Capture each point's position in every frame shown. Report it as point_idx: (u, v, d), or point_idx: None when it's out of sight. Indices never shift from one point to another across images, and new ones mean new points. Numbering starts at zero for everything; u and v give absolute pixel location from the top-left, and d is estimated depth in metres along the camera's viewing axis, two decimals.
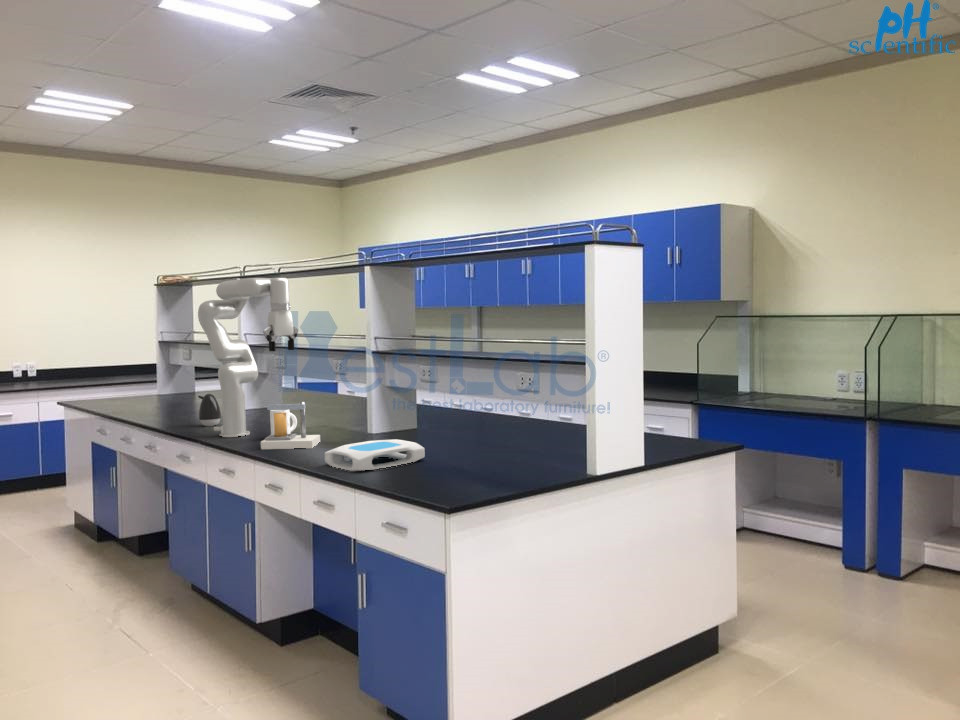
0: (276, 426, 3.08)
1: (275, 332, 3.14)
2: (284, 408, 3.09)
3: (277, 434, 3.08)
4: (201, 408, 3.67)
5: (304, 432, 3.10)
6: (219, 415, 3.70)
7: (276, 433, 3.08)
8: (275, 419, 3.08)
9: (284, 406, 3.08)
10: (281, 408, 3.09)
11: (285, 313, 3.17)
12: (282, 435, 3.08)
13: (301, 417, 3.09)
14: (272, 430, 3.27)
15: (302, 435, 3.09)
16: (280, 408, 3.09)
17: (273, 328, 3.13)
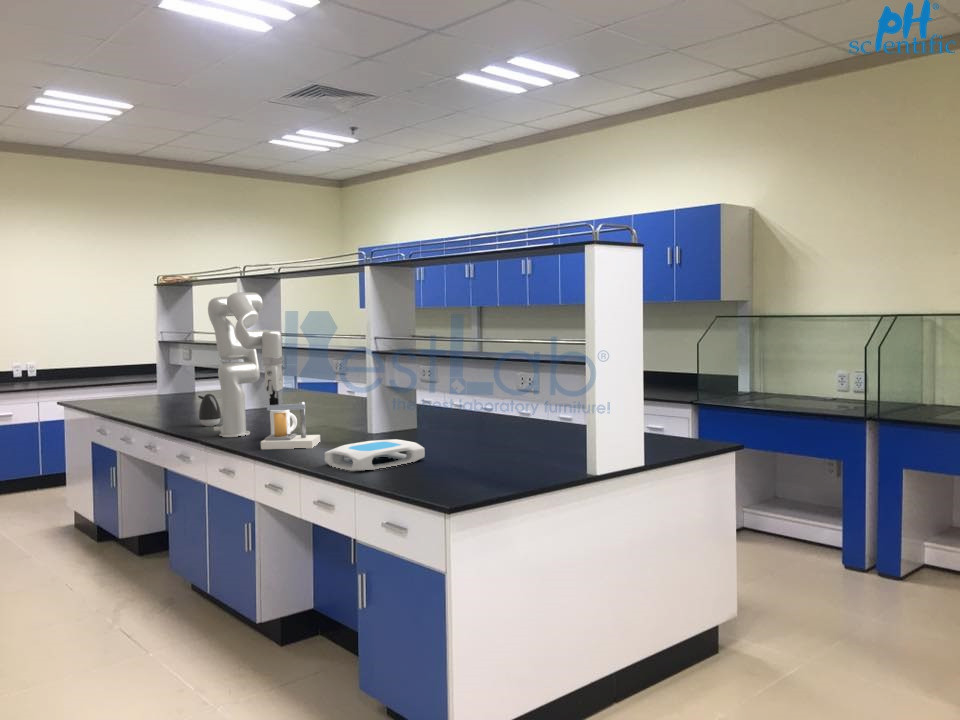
0: (276, 426, 3.08)
1: None
2: (284, 408, 3.08)
3: (277, 434, 3.08)
4: (201, 408, 3.67)
5: (304, 432, 3.10)
6: (219, 415, 3.70)
7: (276, 433, 3.08)
8: (275, 419, 3.08)
9: (284, 406, 3.08)
10: (281, 408, 3.08)
11: None
12: (282, 435, 3.08)
13: (301, 417, 3.09)
14: (272, 430, 3.27)
15: (302, 435, 3.09)
16: (280, 408, 3.08)
17: None
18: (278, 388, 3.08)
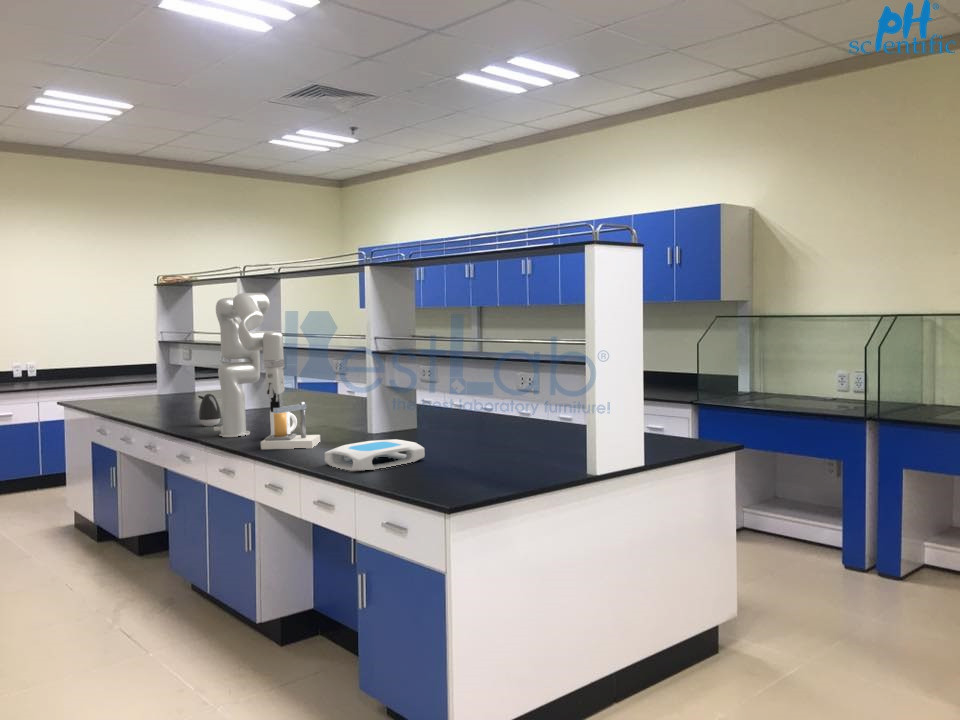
0: (276, 426, 3.08)
1: None
2: (291, 409, 3.03)
3: (277, 434, 3.08)
4: (201, 408, 3.67)
5: (305, 432, 3.10)
6: (219, 415, 3.70)
7: (276, 433, 3.08)
8: (275, 419, 3.08)
9: (291, 407, 3.03)
10: (288, 410, 3.02)
11: None
12: (282, 435, 3.08)
13: (303, 417, 3.09)
14: (272, 430, 3.27)
15: (304, 435, 3.10)
16: (288, 410, 3.02)
17: None
18: (279, 391, 2.99)
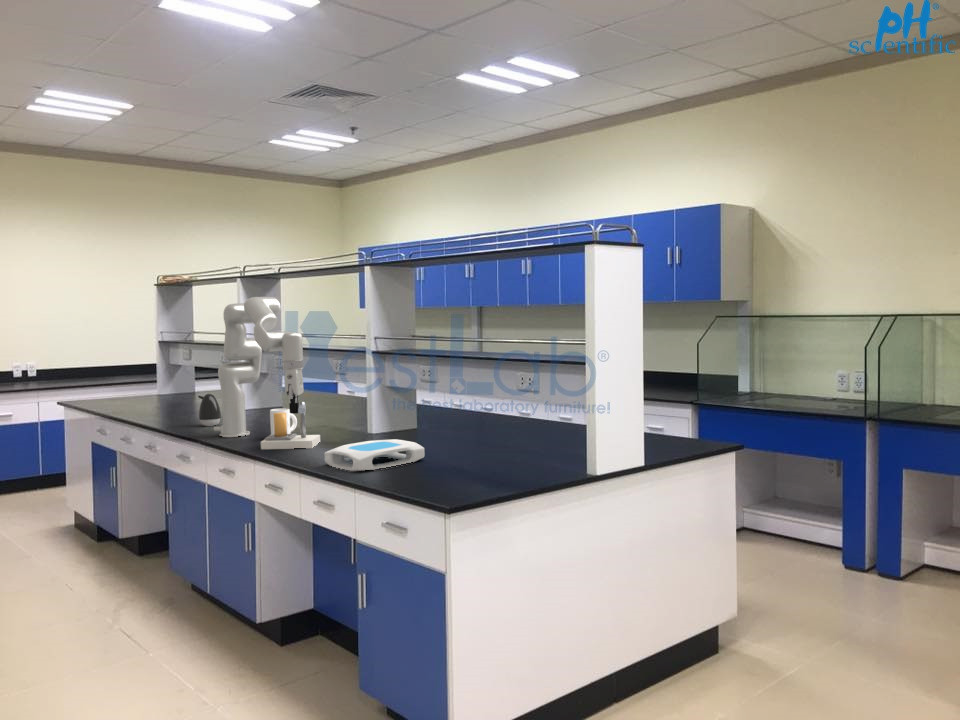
0: (276, 426, 3.08)
1: None
2: None
3: (277, 434, 3.08)
4: (201, 408, 3.67)
5: None
6: (219, 415, 3.70)
7: (276, 433, 3.08)
8: (275, 419, 3.08)
9: None
10: None
11: None
12: (282, 435, 3.08)
13: None
14: (272, 430, 3.27)
15: (305, 435, 3.10)
16: None
17: None
18: (299, 392, 2.95)
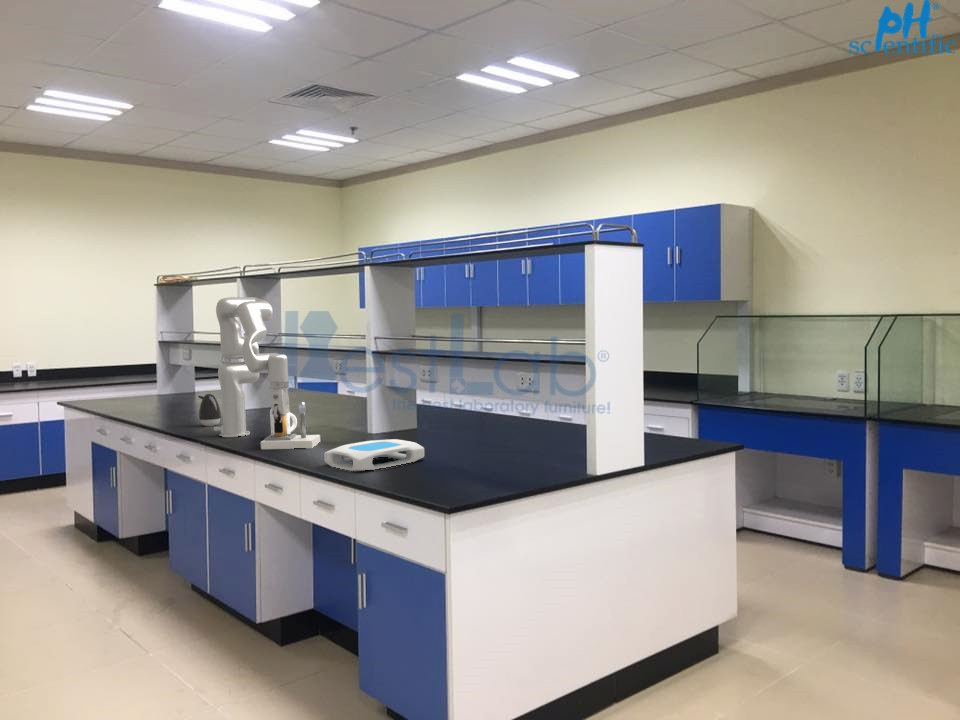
0: None
1: None
2: None
3: (277, 434, 3.08)
4: (201, 408, 3.67)
5: None
6: (219, 415, 3.70)
7: (276, 433, 3.08)
8: None
9: None
10: None
11: None
12: (282, 435, 3.08)
13: None
14: (272, 430, 3.27)
15: (305, 435, 3.10)
16: None
17: None
18: (284, 412, 3.07)
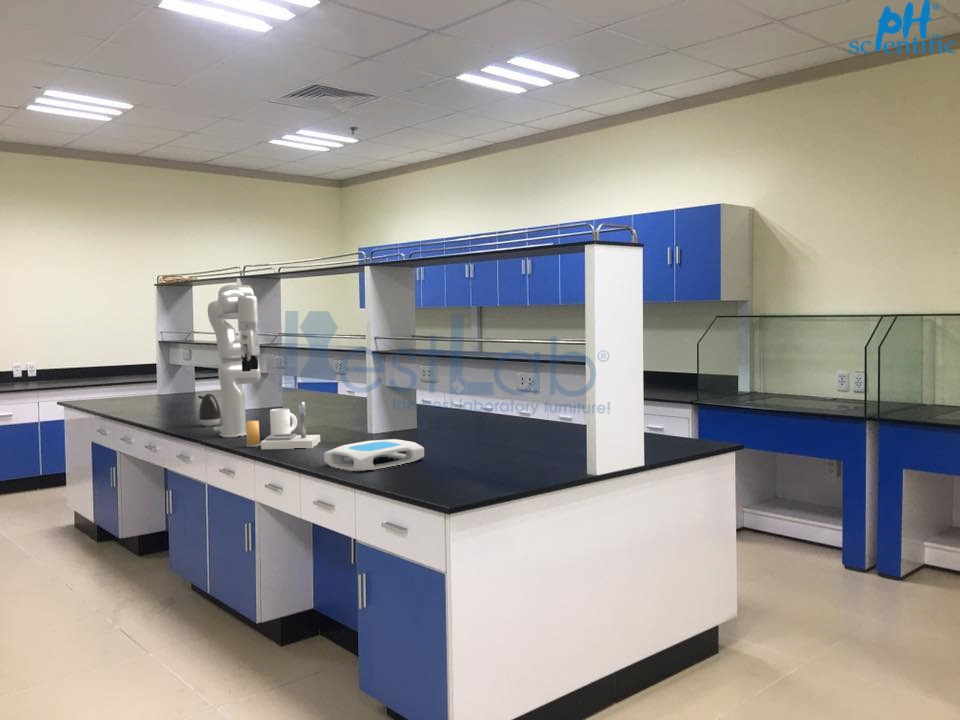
0: (248, 434, 3.09)
1: None
2: None
3: (249, 442, 3.09)
4: (201, 408, 3.67)
5: None
6: (219, 415, 3.70)
7: (248, 441, 3.09)
8: (247, 427, 3.09)
9: None
10: None
11: None
12: (254, 443, 3.09)
13: None
14: (272, 430, 3.27)
15: (305, 435, 3.10)
16: None
17: None
18: (254, 353, 3.05)
